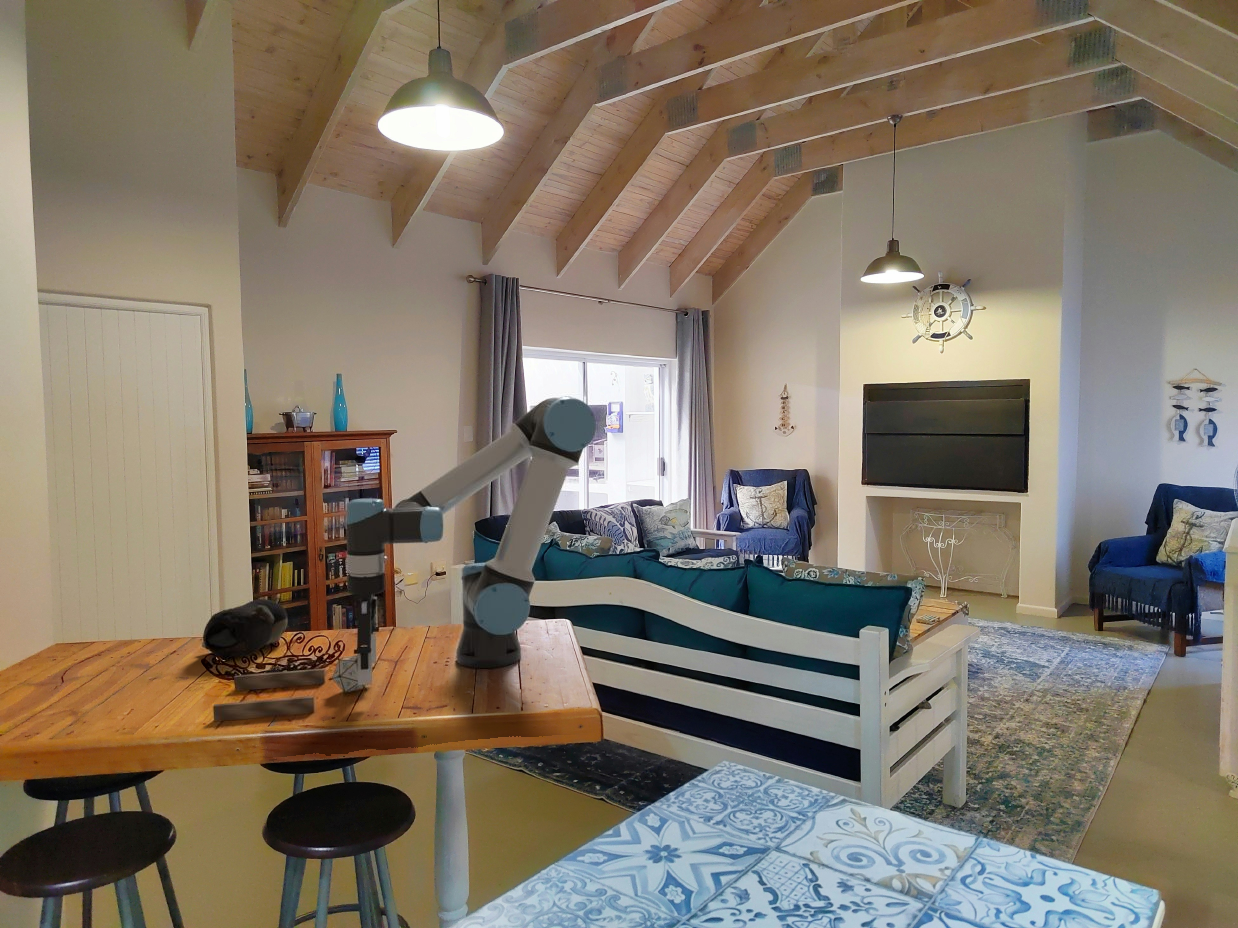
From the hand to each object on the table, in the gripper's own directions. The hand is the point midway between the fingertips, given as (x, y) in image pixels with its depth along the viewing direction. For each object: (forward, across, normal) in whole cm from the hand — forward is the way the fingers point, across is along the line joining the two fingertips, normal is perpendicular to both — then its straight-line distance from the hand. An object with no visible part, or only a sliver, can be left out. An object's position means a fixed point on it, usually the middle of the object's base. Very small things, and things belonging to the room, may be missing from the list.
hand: (367, 673), depth 167 cm
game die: (+4, +1, +3) cm, 6 cm away
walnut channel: (+4, 0, +19) cm, 19 cm away
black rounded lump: (+5, +37, +31) cm, 49 cm away
